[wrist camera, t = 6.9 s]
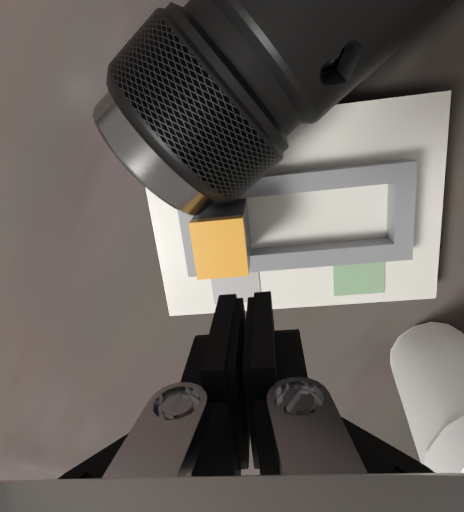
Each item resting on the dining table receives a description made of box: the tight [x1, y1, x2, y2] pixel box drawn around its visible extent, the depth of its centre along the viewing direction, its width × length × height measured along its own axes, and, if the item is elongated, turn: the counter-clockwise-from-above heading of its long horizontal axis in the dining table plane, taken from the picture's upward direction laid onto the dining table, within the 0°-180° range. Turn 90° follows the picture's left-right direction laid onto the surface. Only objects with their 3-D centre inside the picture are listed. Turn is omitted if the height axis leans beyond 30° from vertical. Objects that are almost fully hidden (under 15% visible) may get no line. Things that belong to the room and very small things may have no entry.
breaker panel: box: [145, 90, 451, 316], centre depth 26 cm, size 20×14×4 cm
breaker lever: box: [188, 198, 251, 280], centre depth 23 cm, size 3×3×6 cm
